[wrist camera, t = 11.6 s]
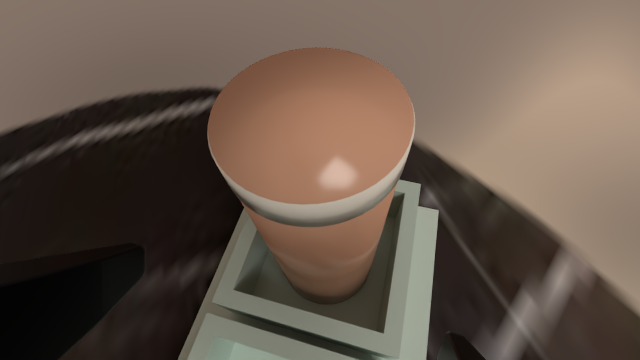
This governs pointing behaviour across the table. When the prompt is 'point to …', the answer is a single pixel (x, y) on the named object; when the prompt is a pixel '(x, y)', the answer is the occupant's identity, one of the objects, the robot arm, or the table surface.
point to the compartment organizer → (318, 319)
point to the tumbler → (315, 161)
